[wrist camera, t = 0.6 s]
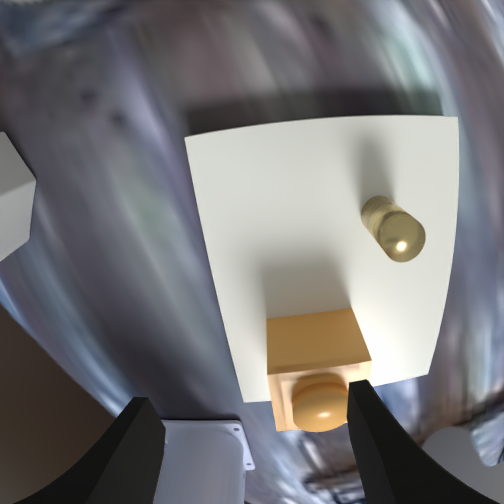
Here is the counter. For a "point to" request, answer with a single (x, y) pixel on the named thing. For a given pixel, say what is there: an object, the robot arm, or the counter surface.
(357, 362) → the orange domed block
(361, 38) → the counter surface
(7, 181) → the jar
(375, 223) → the post
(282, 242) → the white board
